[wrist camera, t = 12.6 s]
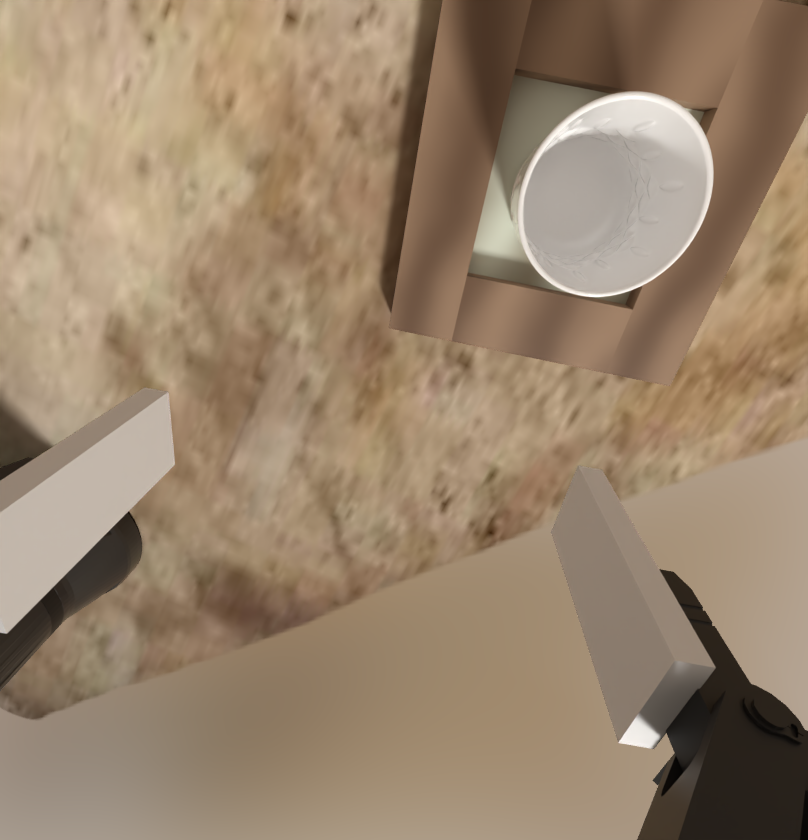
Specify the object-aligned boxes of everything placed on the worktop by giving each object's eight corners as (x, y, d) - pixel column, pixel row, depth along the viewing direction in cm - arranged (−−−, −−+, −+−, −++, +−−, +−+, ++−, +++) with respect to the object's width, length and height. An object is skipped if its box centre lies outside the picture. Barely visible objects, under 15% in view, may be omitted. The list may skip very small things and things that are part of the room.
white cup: (615, 97, 25) (698, 47, 17) (643, 234, 28) (726, 255, 20) (482, 163, 28) (492, 150, 19) (521, 284, 31) (546, 322, 22)
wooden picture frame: (393, 319, 34) (388, 328, 31) (453, -40, 24) (452, -62, 22) (656, 373, 33) (669, 386, 31) (821, 30, 24) (856, 15, 22)
